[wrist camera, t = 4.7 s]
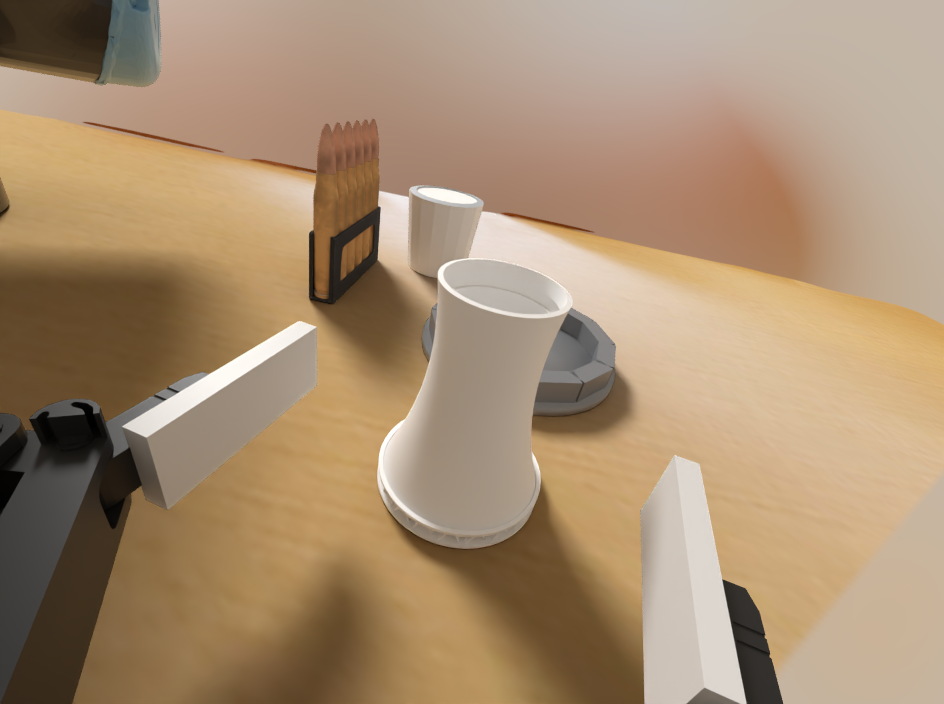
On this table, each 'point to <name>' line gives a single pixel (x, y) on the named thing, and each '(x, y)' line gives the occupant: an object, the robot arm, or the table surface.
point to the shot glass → (440, 227)
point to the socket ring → (565, 366)
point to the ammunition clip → (344, 209)
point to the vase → (475, 408)
